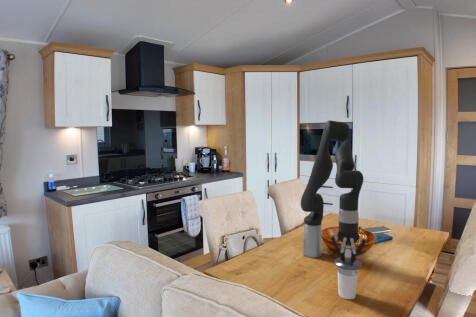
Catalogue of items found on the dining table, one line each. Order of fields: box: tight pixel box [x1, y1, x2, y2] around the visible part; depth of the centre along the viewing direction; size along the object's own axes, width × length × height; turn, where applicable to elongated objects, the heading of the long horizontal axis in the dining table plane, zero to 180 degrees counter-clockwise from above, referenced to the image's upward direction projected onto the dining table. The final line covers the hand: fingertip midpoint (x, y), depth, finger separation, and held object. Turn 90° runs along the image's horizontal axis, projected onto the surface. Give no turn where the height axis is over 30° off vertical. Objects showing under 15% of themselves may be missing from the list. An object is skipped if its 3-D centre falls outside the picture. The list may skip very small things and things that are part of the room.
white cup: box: [336, 268, 359, 300], centre depth 131 cm, size 8×8×10 cm
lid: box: [333, 245, 363, 271], centre depth 129 cm, size 10×10×7 cm
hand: (347, 261), depth 130 cm, fingers closed on lid, 3 cm apart
